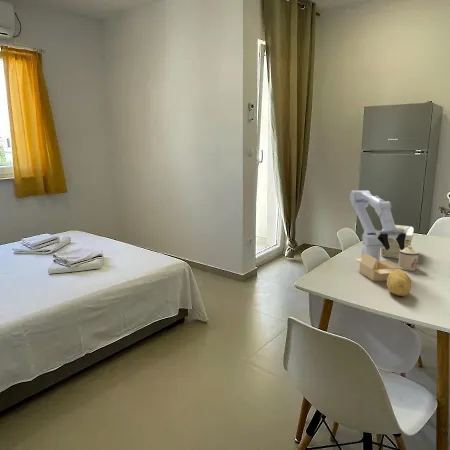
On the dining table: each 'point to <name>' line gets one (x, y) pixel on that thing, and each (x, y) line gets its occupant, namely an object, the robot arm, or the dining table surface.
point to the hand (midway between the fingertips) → (395, 249)
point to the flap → (368, 260)
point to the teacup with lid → (408, 259)
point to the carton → (378, 270)
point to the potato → (399, 283)
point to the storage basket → (394, 244)
